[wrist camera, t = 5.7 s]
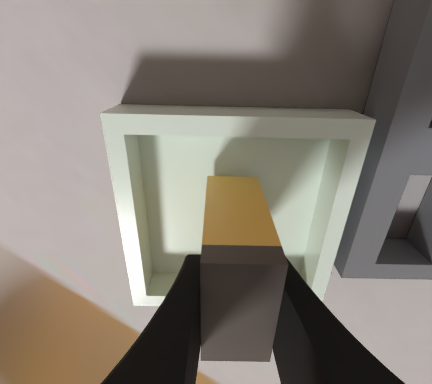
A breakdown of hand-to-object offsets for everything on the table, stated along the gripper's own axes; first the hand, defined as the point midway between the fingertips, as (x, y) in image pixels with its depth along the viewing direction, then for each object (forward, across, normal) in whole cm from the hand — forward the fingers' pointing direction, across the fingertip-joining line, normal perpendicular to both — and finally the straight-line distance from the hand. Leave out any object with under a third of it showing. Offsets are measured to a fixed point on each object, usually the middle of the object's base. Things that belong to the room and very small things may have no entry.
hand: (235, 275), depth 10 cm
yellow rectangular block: (+4, 0, 0) cm, 4 cm away
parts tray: (+5, 0, 0) cm, 5 cm away
